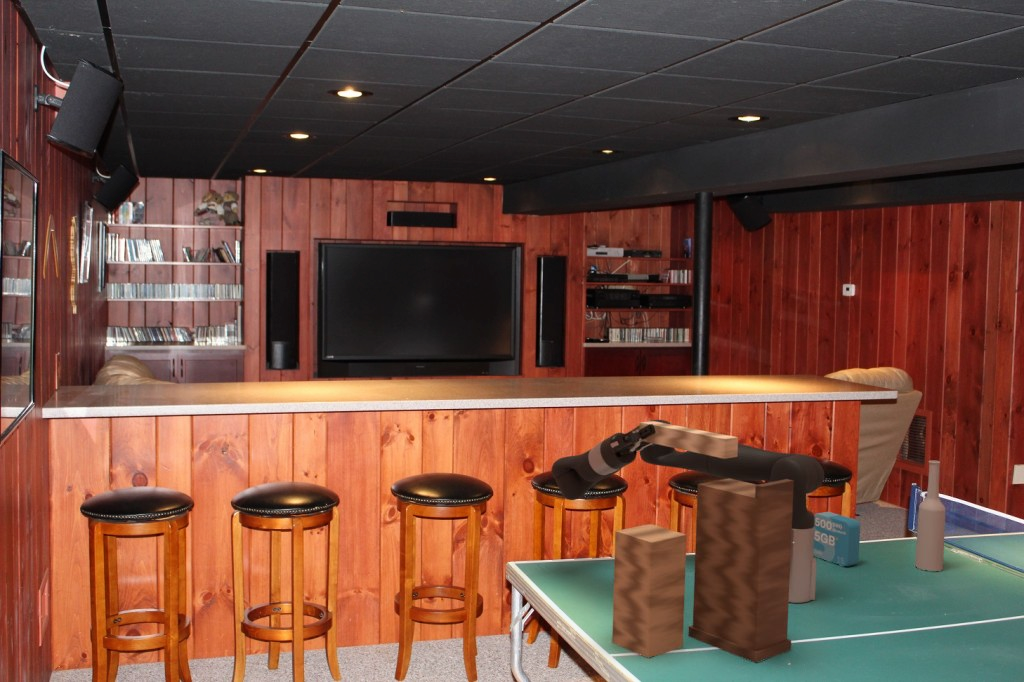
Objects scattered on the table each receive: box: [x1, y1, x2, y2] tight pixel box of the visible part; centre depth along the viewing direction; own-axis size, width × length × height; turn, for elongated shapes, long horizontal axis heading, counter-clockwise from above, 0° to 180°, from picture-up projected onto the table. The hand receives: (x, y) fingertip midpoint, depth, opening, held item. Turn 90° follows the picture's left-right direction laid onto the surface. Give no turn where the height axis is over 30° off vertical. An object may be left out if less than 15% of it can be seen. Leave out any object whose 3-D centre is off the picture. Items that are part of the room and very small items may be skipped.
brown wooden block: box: [639, 420, 739, 459], centre depth 210 cm, size 24×4×4 cm, turn 39°
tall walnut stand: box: [687, 478, 794, 663], centre depth 199 cm, size 17×11×34 cm, turn 39°
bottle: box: [914, 459, 946, 571], centre depth 253 cm, size 7×7×28 cm
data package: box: [813, 511, 861, 567], centre depth 259 cm, size 12×4×12 cm, turn 31°
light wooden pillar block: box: [611, 523, 687, 658], centre depth 198 cm, size 10×10×23 cm
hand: (660, 427), depth 216 cm, fingers closed on brown wooden block, 4 cm apart
